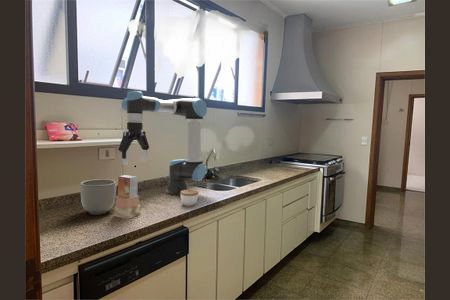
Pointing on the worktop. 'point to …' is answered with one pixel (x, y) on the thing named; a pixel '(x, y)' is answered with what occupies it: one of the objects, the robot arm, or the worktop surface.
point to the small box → (127, 186)
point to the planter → (98, 195)
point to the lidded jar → (189, 197)
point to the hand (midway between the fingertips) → (134, 163)
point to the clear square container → (127, 212)
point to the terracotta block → (127, 202)
